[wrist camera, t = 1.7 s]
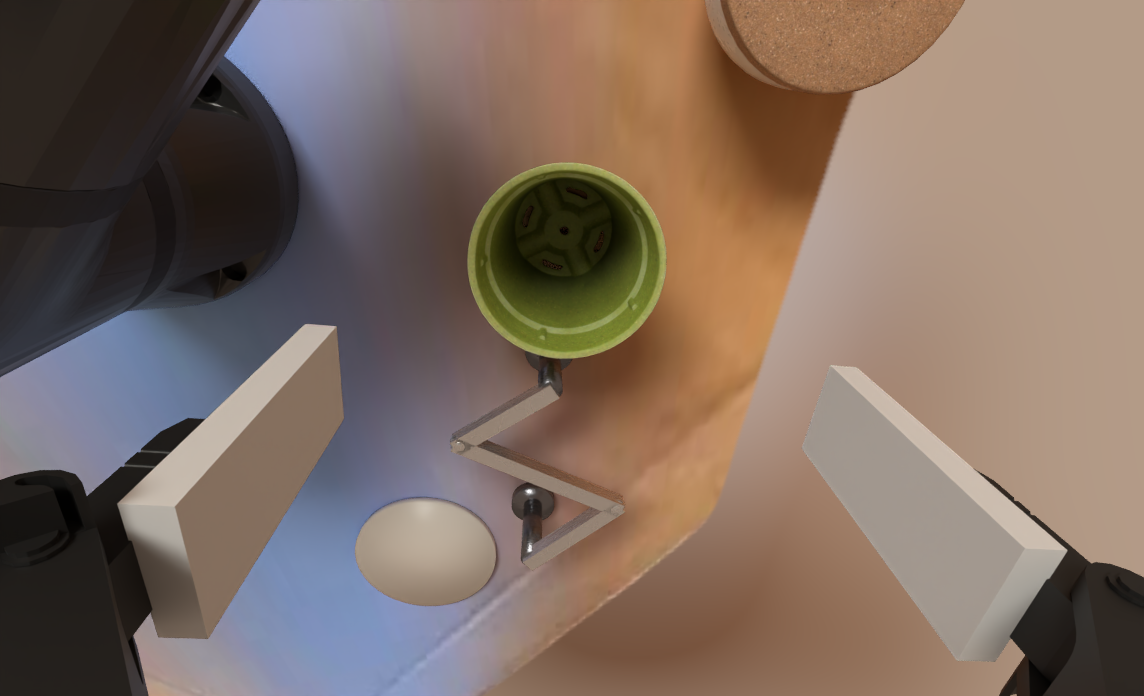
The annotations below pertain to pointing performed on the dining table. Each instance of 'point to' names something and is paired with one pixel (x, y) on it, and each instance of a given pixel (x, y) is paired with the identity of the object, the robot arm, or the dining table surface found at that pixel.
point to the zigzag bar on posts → (537, 470)
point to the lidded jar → (827, 39)
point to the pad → (425, 551)
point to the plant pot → (566, 261)
